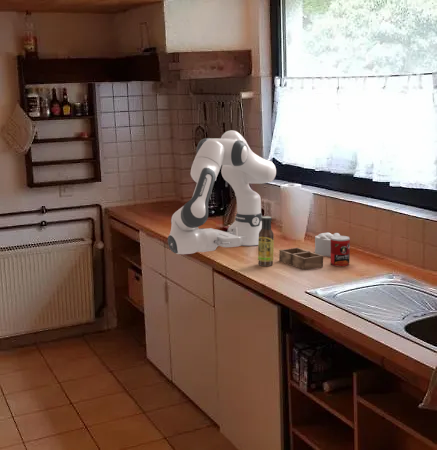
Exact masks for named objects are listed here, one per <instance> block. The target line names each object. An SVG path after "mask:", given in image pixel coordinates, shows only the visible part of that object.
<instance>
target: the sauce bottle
mask: <svg viewBox="0 0 437 450" xmlns="http://www.w3.org/2000/svg"><path fill="white" fill-rule="evenodd" d="M261 220H262V229H261V230H260V232H259V239H258V245H257V246H258V249H257V260H258V261H257V263H258V265H259V266H261V267H270V266H273V265H274V252H275V251H274V246H275V245H274V243H275V239H274V237H275V236H274V235H275V234H274V231H273V230H272V216H269V215H268V216H267V215H265V216H262V219H261Z"/></svg>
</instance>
